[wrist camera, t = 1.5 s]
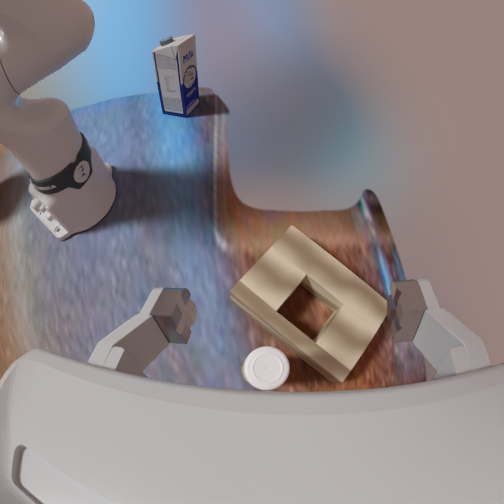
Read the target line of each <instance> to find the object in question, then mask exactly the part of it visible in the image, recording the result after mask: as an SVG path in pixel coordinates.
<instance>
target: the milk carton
mask: <svg viewBox="0 0 504 504" xmlns="http://www.w3.org/2000/svg"><path fill="white" fill-rule="evenodd" d="M160 44H161V46H159V47H158V48H156V49H155V50H153V51H152V55H153V61H154V67H155V73H156V79H157V84H158V90H159V96H160V101H161V106H162V111H163V114H168V115H174V116H179V117H185V118H187V117H188V115H189V114H190V113H191V112H192V111H193V110H194V108H195V107H196V106H197V105H198V104H199V91H198V78H197V63H196V44H195V34H193V35H185V36H181V37H178V38H174V39H173V38H172V37H169V38H166V39H163V40H162V41H160Z"/></svg>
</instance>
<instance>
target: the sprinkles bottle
mask: <svg viewBox="0 0 504 504" xmlns="http://www.w3.org/2000/svg"><path fill="white" fill-rule="evenodd" d="M289 371H290V365H289V361H288V359H287V357H286V355H285V354H284V353H283V352H282V351H280V350H279V349H277V348H274V347H270V346H265V347H260V348H257V349H255V350H254V351H252V352H251V353H250V354H249V355H248V357H247V358H246V360H244V362H243V364H242V367H241V373H242V376H243V378H244V379H245V380H246V381H247V382H248V383H250V384H251V385H252V386H254V387H256V388H258V389H261V390H272V389H276V388H278V387H279V386H281V385H282V384H283V383H284V382H285V381H286V379H287V377H288V375H289Z"/></svg>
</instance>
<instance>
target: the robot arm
mask: <svg viewBox="0 0 504 504" xmlns="http://www.w3.org/2000/svg"><path fill="white" fill-rule="evenodd" d="M94 26H95V20H94V16H93V12H92V10H91V9H90V7H89V6H88V5H87V4H86V3H85V2H84V1H82V0H0V143H1V144H3V145H4V146H6V147H7V148H8V149H9V150H10V151H11V152H12V153H13V154H14V155H15V157H16V158H17V159H18V160H19V161H20V163H21V164H22V165H23V167H24V168H25V169H26V170H27V172H28V175H29V178H30V181H31V183H30V186H29V193H30V194H31V195H32V197H33V200H32V202H31V206H30V208H31V210H32V212H33V213H34V214H35V215H36V216H37V217H38V218H39V219H40V221H41V222H42V223H43V224H44V225H45V226H46V227H47V228H48V229H49V230H50V231H51V232H52V233H53V234H54V235H55V236H56V237H57V238H58V239H59V240H64V239H66V238H68V237H69V236H70V235H72V234H74V233H76V232H80V231H84V230H86V229H89V228H90V227H92V226H94V225H95V224H97V223H98V222H99V221H100V220H101V219H102V218H103V217H104V216H105V215H106V214H107V213H108V211H109V210H110V208H111V206H112V204H113V202H114V199H115V195H116V186H115V183H114V181H113V179H112V167H111V165H110V164H108V163H104V162H103V160H102V158H101V157H100V155H99V154H98V152H97V150H96V149H95V148H94V147H89V143H88V141H87V139H86V138H85V137H84V135H83V134H82V133H81V132H79V130H78V128H77V125H76V123H75V121H74V119H73V117H72V114H71V112H70V110H69V108H68V106H67V104H66V103H64V102H63V101H62V100H59V99H56V98H51V97H49V98H48V97H47V98H40V99H26V98H23V97H21V96H20V94H21V93H22V92H24V91H25V90H27V89H28V88H30V87H31V86H33V85H34V84H36V83H37V82H39V81H41V80H42V79H44V78H45V77H47V76H49V75H50V74H52V73H54V72H55V71H57V70H59V69H61V68H62V67H63V66H64V65H66V64H67V63H68V62H70V61H71V60H72V59H74V58H75V57H77V56H78V55H79V54H81V53H82V52H83V51H85V50H86V49H87V48H88V46H89V44H90V42H91V40H92V37H93V33H94V28H95V27H94ZM59 230H60V231H59ZM58 231H59V232H58ZM390 291H391V295H390V296H389V297H388V300H387V316H388V320H389V321H390V322H391V323H392V325H391V328H390V330H391V335H392V340H393V343H397V342H409V341H413V343H414V344H415V346H416V347H417V348H418V349H419V350H420V351H421V353H422V354H423V355H424V356H425V357H426V359H427V360H428V361H429V362H430V363H431V364H432V365H433V367H434V368H435V369H436V371H437V372H436V374H435V375H434V377H433V378H432V380H431V381H426V382H420V383H413V384H407V385H400V386H392V387H383V388H374V389H363V390H349V391H329V392H269V391H249V390H235V389H223V388H213V387H204V386H196V385H189V384H182V383H175V382H169V381H163V380H158V379H152V378H148V377H147V376H146V375H145V374H144V372H143V370H144V369H145V368H146V367H147V366H148V365H149V364H150V363H151V362H152V361H153V360H154V359H155V358H156V357H157V356H158V355H159V354H160V353H161V352H162V351H163V350H164V349H165V348H166V347H167V346H168V345H169V343H176V344H187V342H188V339H189V337H190V334H191V330H190V327H191V326H192V325H193V324H194V323H195V320H196V312H197V311H196V306H195V304H194V302H193V301H191V300H190V299H189V298H190V293H189V291H188V289H186V288H154V289H153V290H152V292H151V293H150V295H149V297H148V299H147V301H146V303H145V304H144V306H143V308H142V310H141V312H140V314H136V315H135V316H133V317H132V318H131V319H129V320H128V321H127V322H125V323H124V324H122V325H121V326H120V327H118V328H117V329H116V330H114V331H113V332H112V333H110V334H109V335H107V336H106V337H105V338H103V339H102V340H101V341H99V342H98V344H97V346H96V348H95V349H94V351H93V353H92V355H91V357H90V359H89V361H88V363H85V362H81V361H78V360H74V359H71V358H68V357H65V356H62V355H59V354H56V353H53V352H50V351H47V350H45V349H42V348H34V349H32V350H31V351H29V352H27V353H26V354H24V355H23V356H21V357H20V358H19V359H17V360H16V361H15V362H13V363H12V365H11V366H10V367H9V368H8V370H7V371H6V372H5V374H4V375H3V377H2V379H1V380H0V504H504V363H501V364H498V365H494V366H492V365H491V362H490V359H489V356H488V353H487V351H486V348H485V345H484V342H483V340H482V339H481V338H479V337H478V336H477V335H476V334H475V333H473V332H472V331H471V330H470V329H469V328H467V327H466V326H465V325H464V324H463V323H461V322H460V321H459V320H458V319H456V318H455V317H454V316H453V315H452V314H451V313H449V312H448V311H447V310H446V309H444V308H440V305H439V303H438V300H437V298H436V296H435V293H434V291H433V288H432V286H431V284H430V282H429V280H428V279H427V278H424V279H416V280H403V281H392V283H391V286H390Z"/></svg>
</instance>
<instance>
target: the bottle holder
mask: <svg viewBox="0 0 504 504" xmlns="http://www.w3.org/2000/svg"><path fill="white" fill-rule="evenodd" d="M299 285H301V286H302V287H304V288H305V289H306V290H307V291H309V292H310V293H311V294H312V295H314V296H315V297H316V298H317V299H319V300H320V301H321V302H322V303H324V304H325V305H326V306H327V307H329V308H330V309H331V310H332V311H333V314H332V315H331V316H330V318H329V319H328V321H327V322H326V323H325V325H324V326H323V327H322V329H321V330H320V331H319V333H318V334H317V335H316V336H315V338H314V339H313V340H311V339H310V338H309V337H308V336H306V335H305V334H304V333H303V332H301V331H300V330H299V329H298V328H296V327H295V326H294V325H293V324H291V323H290V322H289V321H288V320H287V319H285V318H284V317H283V316H282V315H280V314H279V313H278V312H277V311H278V310H279V309H280V307H281V306H282V305H283V304H284V303H285V302H286V300H287V299H288V298H289V297H290V296H291V294H292V293H293V292H294V291H295V290H296V288H297V287H298V286H299ZM230 300H231V301H232V302H234V303H235V304H236V305H237V306H238V307H239V308H241V309H242V310H243V311H244V312H245V313H246V314H248V315H249V316H250V317H251V318H252V319H254V320H255V321H256V322H257V323H258V324H260V325H261V326H262V327H263V328H264V329H266V330H267V331H268V332H269V333H270V334H272V335H273V336H274V337H275V338H276V339H278V340H279V341H280V342H281V343H283V344H284V345H285V346H286V347H288V348H289V349H290V350H291V351H293V352H294V353H295V354H296V355H298V356H299V357H300V358H301V359H303V360H304V361H305V362H306V363H308V364H309V365H310V366H311V367H313V368H314V369H315V370H317V371H318V372H319V373H321V374H322V375H323V376H324V377H326V378H327V379H328V380H330V381H331V382H343V381H344V380H345V378H346V377H347V375H348V374H349V373H350V371H351V370H352V368H353V367H354V366H355V364H356V363H357V361H358V360H359V358H360V357H361V355H362V354H363V352H364V351H365V349H366V348H367V346H368V344H369V343H370V341H371V340H372V338H373V337H374V335H375V333H376V332H377V330H378V328H379V327H380V325H381V323H382V322H383V320H384V318H385V317H386V315H387V300H385V299H384V298H383V297H382V296H381V295H379V294H378V293H377V292H376V291H375V290H373V289H372V288H371V287H370V286H369V285H367V284H366V283H365V282H364V281H362V280H361V279H360V278H359V277H358V276H356V275H355V274H354V273H353V272H351V271H350V270H349V269H348V268H346V267H345V266H344V265H343V264H341V263H340V262H339V261H338V260H336V259H335V258H334V257H333V256H331V255H330V254H329V253H327V252H326V251H325V250H324V249H322V248H321V247H320V246H318V245H317V244H316V243H315V242H313V241H312V240H311V239H309V238H308V237H307V236H306V235H304V234H303V233H302V232H300V231H299V230H298V229H296V228H295V227H294V226H292V225H291V226H290V227H289V229H288V230H287V231H286V232H285V233H284V234H283V235H282V236H281V237H280V238H279V239H278V240H277V241H276V242H275V243H274V245H273V246H272V247H271V248H270V249H269V250H268V251H267V252H266V253H265V254H264V255H263V256H262V257H261V258H260V259H259V261H258V262H257V263H256V264H255V265H254V266H253V267H252V268H251V269H250V270H249V271H248V272H247V273H246V274H245V275H244V276H243V277H242V279H241V280H240V281H239V282H238V283H237V284H236V285H235V286H234V287H233V288H232V289H231V290H230Z"/></svg>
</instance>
